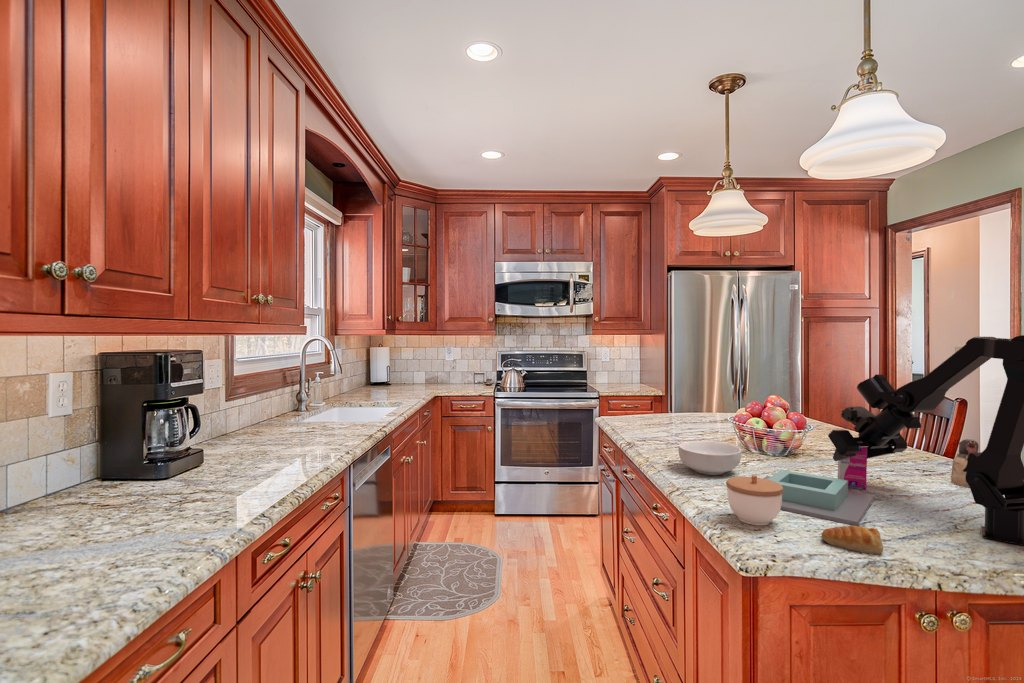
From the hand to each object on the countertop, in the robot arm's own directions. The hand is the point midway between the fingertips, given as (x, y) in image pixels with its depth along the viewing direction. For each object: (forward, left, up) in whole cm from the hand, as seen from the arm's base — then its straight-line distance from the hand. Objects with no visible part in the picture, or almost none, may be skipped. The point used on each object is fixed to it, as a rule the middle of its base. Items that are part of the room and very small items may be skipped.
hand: (847, 458), depth 134 cm
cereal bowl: (-11, +32, -7) cm, 34 cm away
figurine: (+20, -24, -7) cm, 32 cm away
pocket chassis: (-21, +6, -7) cm, 23 cm away
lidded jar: (-43, +11, -7) cm, 45 cm away
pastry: (-45, -7, -7) cm, 46 cm away
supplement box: (-1, -1, -7) cm, 7 cm away
